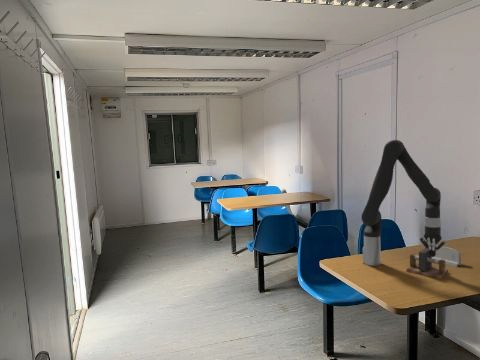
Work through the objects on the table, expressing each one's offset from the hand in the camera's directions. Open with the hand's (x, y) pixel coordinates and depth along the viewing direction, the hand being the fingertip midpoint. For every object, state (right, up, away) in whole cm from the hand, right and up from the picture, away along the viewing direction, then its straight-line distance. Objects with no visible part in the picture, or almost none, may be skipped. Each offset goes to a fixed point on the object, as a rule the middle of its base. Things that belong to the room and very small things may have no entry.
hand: (432, 256), depth 185 cm
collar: (-2, -7, +3) cm, 8 cm away
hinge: (+16, -7, +16) cm, 24 cm away
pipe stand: (-1, -9, +3) cm, 10 cm away
